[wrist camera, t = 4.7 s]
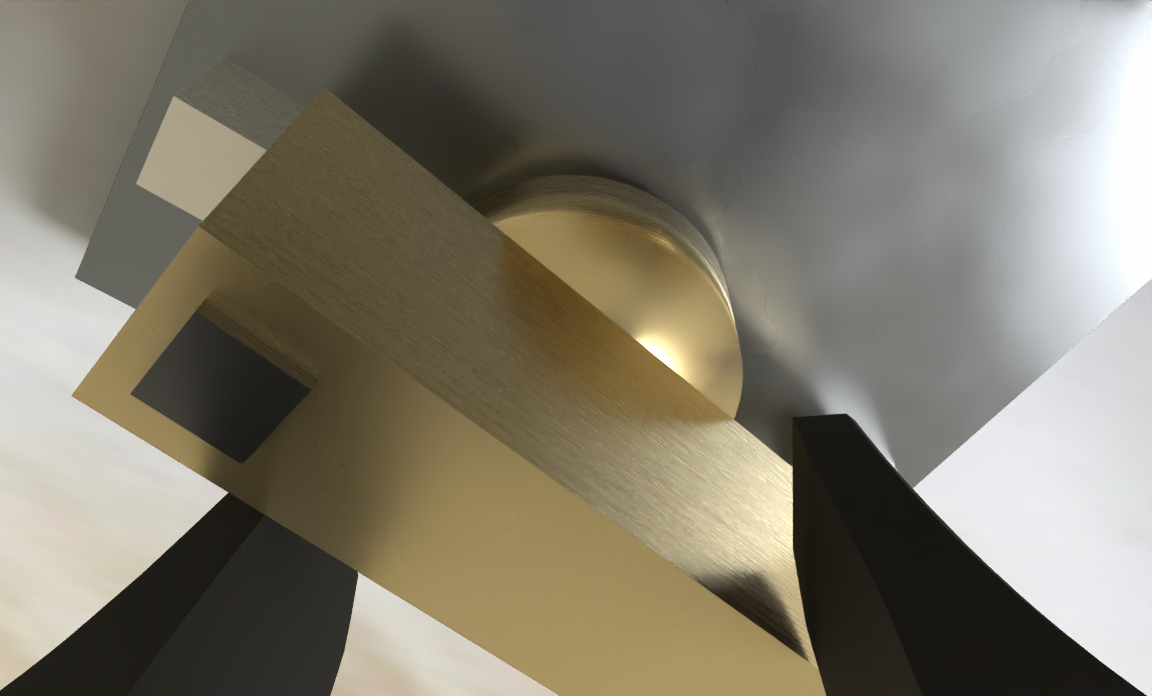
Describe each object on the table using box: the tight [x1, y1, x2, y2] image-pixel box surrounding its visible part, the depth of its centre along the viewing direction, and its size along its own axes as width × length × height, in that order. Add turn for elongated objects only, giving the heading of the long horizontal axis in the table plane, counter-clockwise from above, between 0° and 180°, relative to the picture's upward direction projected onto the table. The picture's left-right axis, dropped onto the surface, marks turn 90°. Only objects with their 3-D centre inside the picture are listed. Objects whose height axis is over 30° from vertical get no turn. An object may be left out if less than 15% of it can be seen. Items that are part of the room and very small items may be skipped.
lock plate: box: [75, 0, 1152, 488], centre depth 11 cm, size 17×14×7 cm
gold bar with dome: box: [72, 87, 826, 696], centre depth 12 cm, size 10×5×6 cm, turn 48°
